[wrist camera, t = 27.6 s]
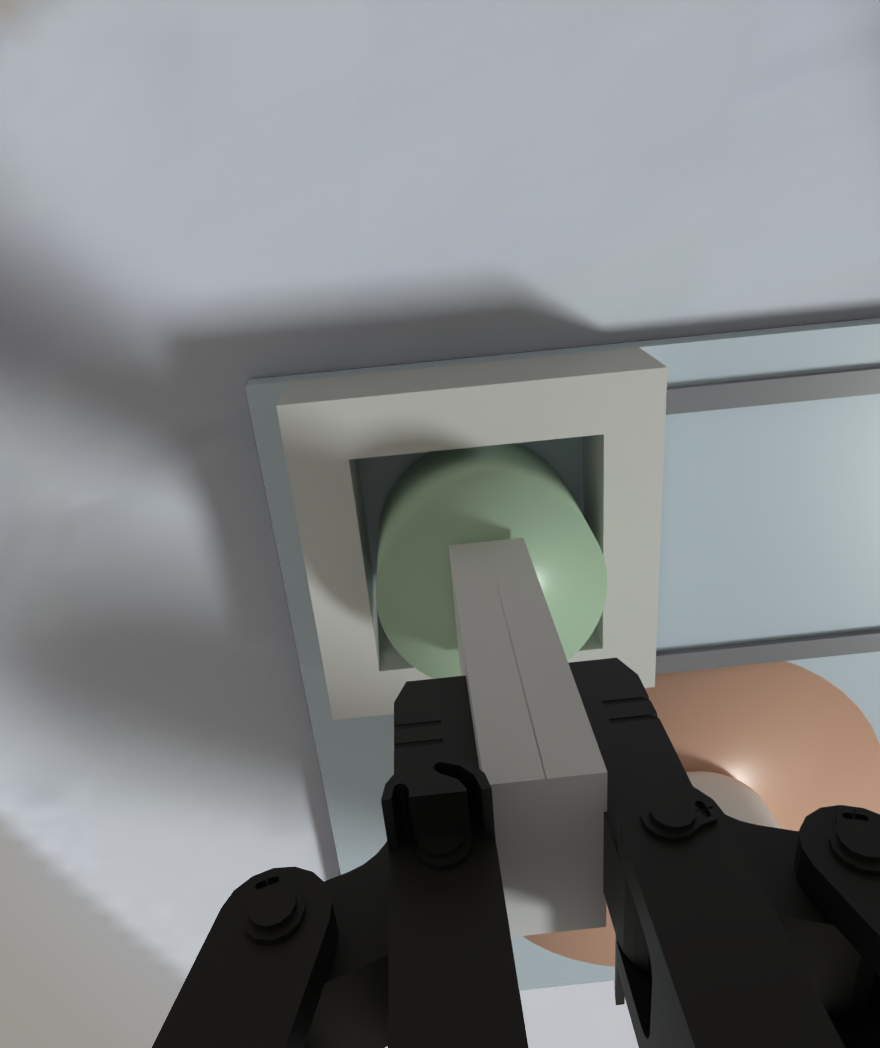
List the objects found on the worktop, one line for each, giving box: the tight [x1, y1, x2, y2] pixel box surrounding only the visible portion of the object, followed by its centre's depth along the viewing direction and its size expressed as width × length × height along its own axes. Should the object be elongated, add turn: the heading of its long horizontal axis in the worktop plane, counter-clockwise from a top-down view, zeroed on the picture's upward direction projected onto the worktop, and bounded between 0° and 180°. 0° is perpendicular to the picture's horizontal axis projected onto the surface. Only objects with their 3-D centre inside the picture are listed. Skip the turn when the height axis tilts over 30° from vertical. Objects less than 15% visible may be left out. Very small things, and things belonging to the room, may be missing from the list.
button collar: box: [276, 347, 668, 720], centre depth 18 cm, size 8×8×2 cm
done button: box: [376, 443, 607, 679], centre depth 17 cm, size 5×5×3 cm
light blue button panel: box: [245, 318, 880, 990], centre depth 22 cm, size 18×22×1 cm
